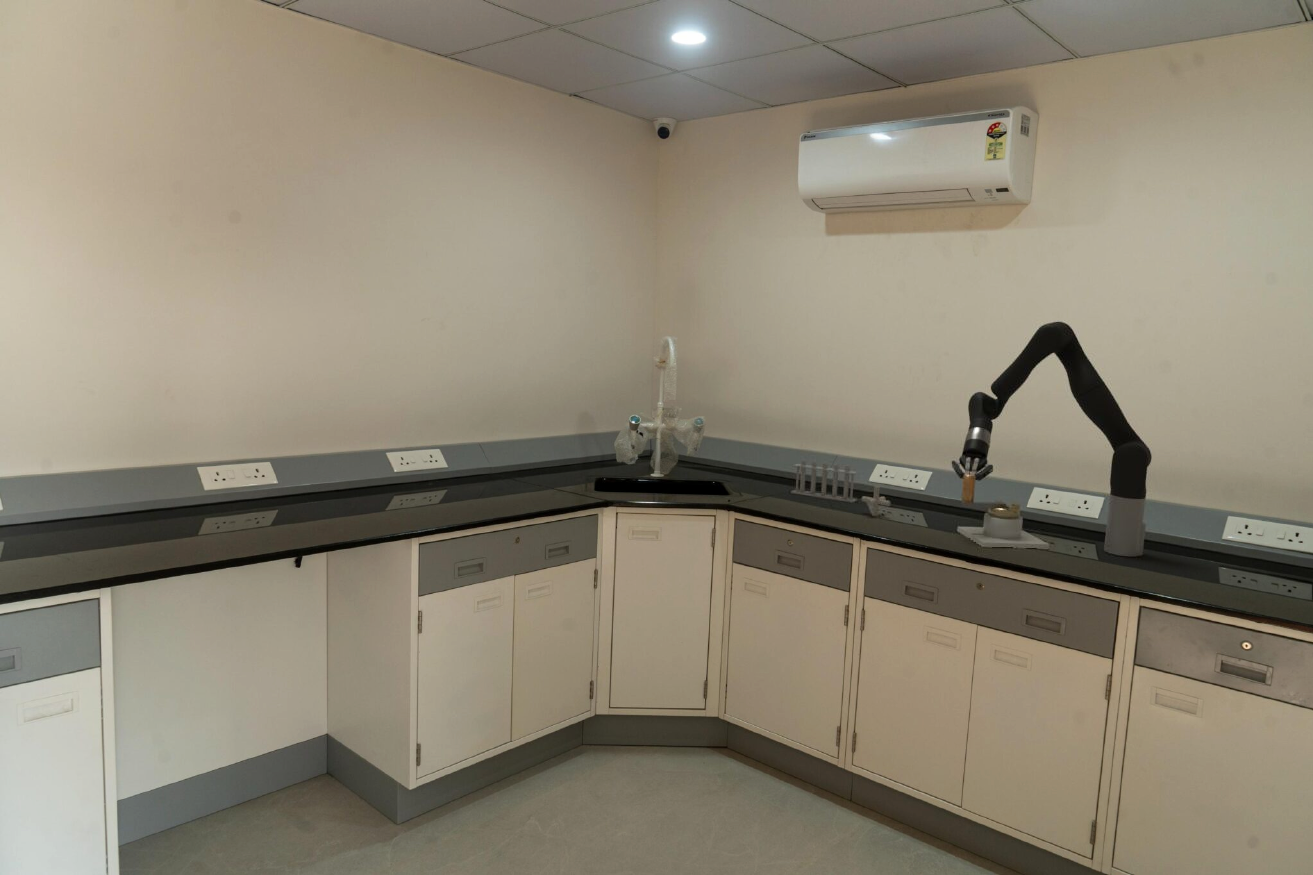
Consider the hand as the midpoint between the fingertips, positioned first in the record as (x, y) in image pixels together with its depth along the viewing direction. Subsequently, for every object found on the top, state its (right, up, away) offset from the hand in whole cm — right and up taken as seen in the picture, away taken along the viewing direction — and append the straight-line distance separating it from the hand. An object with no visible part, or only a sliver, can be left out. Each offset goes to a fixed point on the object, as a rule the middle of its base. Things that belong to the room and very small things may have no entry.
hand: (967, 488), depth 263 cm
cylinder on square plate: (+11, -16, +1) cm, 19 cm away
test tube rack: (-33, -7, +59) cm, 68 cm away
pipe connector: (-21, -11, +30) cm, 38 cm away
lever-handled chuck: (+6, -8, -1) cm, 10 cm away
